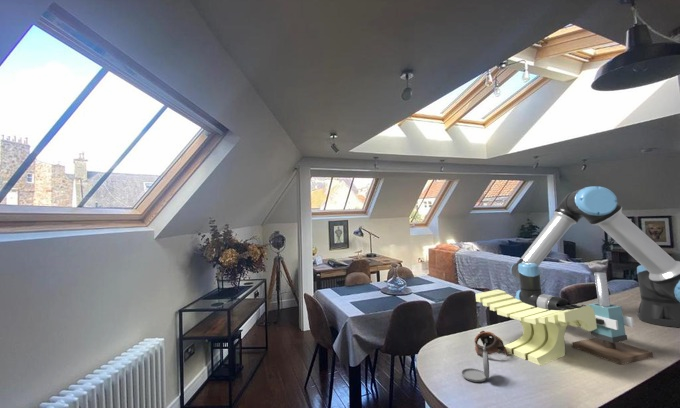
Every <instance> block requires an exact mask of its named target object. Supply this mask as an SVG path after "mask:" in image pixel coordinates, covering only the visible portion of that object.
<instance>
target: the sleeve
mask: <svg viewBox="0 0 680 408" xmlns="http://www.w3.org/2000/svg"><path fill="white" fill-rule="evenodd" d="M587 305H589V306H591V307H592V308H593V310H594V313H595V315H596V316H600V317H605V318H609V319H613V320H617V321H618V329H619V330H615V329H612V328H608V327H604V326H601V325H597V324H596V325H597V329H595V330H592V332H595V333H598V334H602V335H605V336H608V337H612V338H613V337H618V336H623V335H627V334H626V328H625V325H624V320H623V316H624V314H623V308H622V305H616V304H612V303H610V306H611V307H602V306H598V302H594V303H588V304H587Z"/></svg>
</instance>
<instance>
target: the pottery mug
mask: <svg viewBox="0 0 680 408" xmlns="http://www.w3.org/2000/svg"><path fill="white" fill-rule="evenodd" d="M479 340H480V341H481V342H482V345H481V344H479ZM485 343H486V345H485ZM484 345H485V348H486V350H485V351H486V352H487V353H488V355H492V354H494V353H497V354H500V352H503V353H504V354H505V355H507V357H508V356H509V355H508V354H509V353H507V350H506V348H505V347H504V342H503V340H502V338H500V337H499V336H497V335H496V334H494V333H493V332H491V331H485V330H481V331H480V332H479V333H478V334H476V336H475V338H474V346H475V347H474V348H475V349H474V351H475V353H476V354H477V356H479V355H483V352H484V350H483V346H484Z"/></svg>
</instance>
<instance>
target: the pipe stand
mask: <svg viewBox="0 0 680 408" xmlns="http://www.w3.org/2000/svg"><path fill="white" fill-rule="evenodd" d="M593 275H594V283H595V288H596V296H597V297H596V298H597V303H598V306H602V307H611V306H610V304H611V300H610V292H609V285H608V279H607V273H606V272H598V271H597V272H593ZM571 345H572V348H575V349H577V350H580V351H583V352H586V353H588V354H591V355H593V356H597V357H599V358H602V359H604V360H607V361H610V362H613V363H615V364H618V365H624V364H629V363H633V362H637V361H642V360H645V359H650V358H653V357H654V354H653V351H651V350H647V349H644V348H640V347H637V346H634V345H630V344H628V343H624V342H623V341H619V342H615V343H612V342H609V341H606V340H602V339H599V338H596V337H593V338H592V337H591V338H587V339H582V340H578V341H572V342H571Z"/></svg>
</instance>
